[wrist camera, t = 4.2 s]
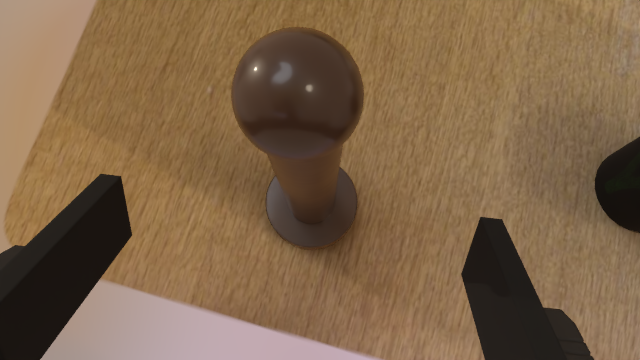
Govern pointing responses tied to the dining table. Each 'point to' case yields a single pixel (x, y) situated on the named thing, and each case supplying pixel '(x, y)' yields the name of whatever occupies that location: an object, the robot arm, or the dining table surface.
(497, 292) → the robot arm
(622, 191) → the cup
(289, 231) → the brown pepper mill
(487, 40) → the dining table surface
